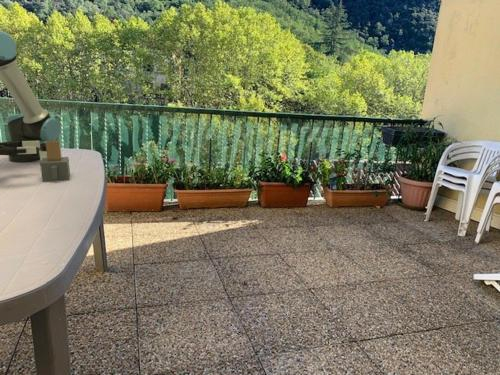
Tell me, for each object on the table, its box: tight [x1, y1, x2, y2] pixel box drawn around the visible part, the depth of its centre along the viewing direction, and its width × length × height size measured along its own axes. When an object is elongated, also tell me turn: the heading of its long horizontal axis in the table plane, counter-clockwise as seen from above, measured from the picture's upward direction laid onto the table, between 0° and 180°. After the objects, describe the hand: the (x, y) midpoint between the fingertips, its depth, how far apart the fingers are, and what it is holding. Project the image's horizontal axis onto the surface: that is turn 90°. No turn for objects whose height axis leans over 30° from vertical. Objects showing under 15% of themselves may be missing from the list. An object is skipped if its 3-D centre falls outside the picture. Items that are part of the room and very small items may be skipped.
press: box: [39, 156, 71, 183], centre depth 164 cm, size 13×10×8 cm
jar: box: [39, 142, 63, 162], centre depth 178 cm, size 9×8×12 cm
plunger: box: [44, 139, 62, 161], centre depth 164 cm, size 4×5×14 cm
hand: (38, 146), depth 160 cm, fingers open, 13 cm apart
